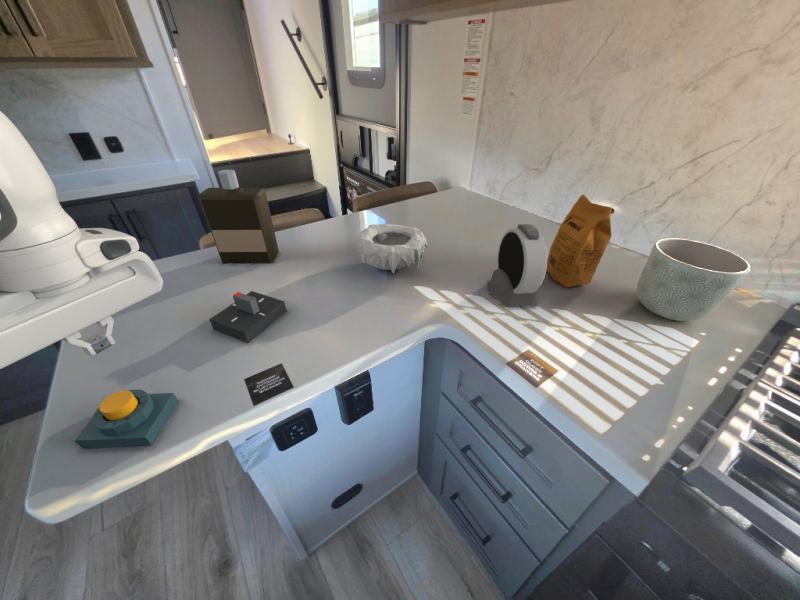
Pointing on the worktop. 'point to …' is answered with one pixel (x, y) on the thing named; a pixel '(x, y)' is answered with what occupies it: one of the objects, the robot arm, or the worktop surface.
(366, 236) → the bowl
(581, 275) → the coffee package
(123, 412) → the trigger button
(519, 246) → the alarm clock
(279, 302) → the dark grey flat block
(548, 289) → the worktop surface
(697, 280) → the planter
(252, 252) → the bottle
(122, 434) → the teal button mount
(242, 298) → the grey rectangular block
